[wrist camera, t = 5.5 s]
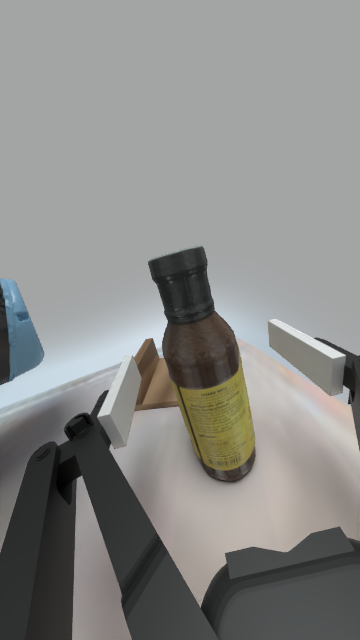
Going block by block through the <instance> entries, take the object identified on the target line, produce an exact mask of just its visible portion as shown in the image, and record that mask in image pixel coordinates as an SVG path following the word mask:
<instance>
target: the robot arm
mask: <svg viewBox="0 0 360 640" xmlns="http://www.w3.org/2000/svg"><path fill="white" fill-rule="evenodd" d="M268 331H269V344H270V347H271V348H272V349H274V350H275V351H276V352H277V353H279V354H280V355H281V356H282V357H283V358H285V359H286V360H287V361H288V362H289V363H291V364H292V365H293V366H294V367H296V368H297V369H298V370H299V371H301V372H302V373H303V374H304V375H305V376H306V377H308V378H309V379H310V380H311V381H313V382H314V383H315V384H316V385H317V386H319V387H320V388H321V389H322V390H324V391H325V392H326V393H327V394H328V395H330V396H333V395H337V394H341V393H343V385H344V386H345V387H347V388H349V389H350V391H349V400H348V404H351V407H352V412H353V418H354V423H355V428H356V434H357V439H358V444H359V450H360V356H356V355H354V354H352V353H350V352H348V351H346V350H344V349H342V348H340V347H337V346H336V345H334V344H332V343H330V342H328V341H326V340H323V339H320V338H312V337H310V336H308V335H306V334H304V333H302V332H300V331H298V330H296V329H294V328H293V327H291V326H289V325H287V324H285V323H283V322H281V321H279V320H277V319H273V320H269V321H268ZM43 358H44V351H43V348H42V346H41V343H40V340H39V338H38V335H37V333H36V331H35V328H34V326H33V323H32V321H31V319H30V316H29V314H28V311H27V308H26V306H25V303H24V301H23V298H22V296H21V293H20V291H19V289H18V286H17V284H16V282H15V281H14V280H11V279H7V280H5V279H0V385H2V384H4V383H6V382H10V381H12V380H13V379H14V378H15V377H17V376H19V375H21V374H23V373H25V372H27V371H29V370H31V369H33V368H35V367H36V366H38V365H39V364H40V363H41V361H42V360H43ZM141 379H142V378H141V375H140V373H139V370H138V368H137V365H136V363H135V360H134V357H133V355H130V356H127V357H125V358H124V360H123V362H122V364H121V366H120V368H119V371H118V373H117V375H116V377H115V379H114V381H113V384H112V386H111V388H110V390H107V391H104V392H103V394H102V395H101V396H100V397H99V399H98V401H97V403H96V405H95V408H94V409H93V411H92V413H91V415H89V414H88V413H81V414H78V415H77V416H75V417H74V418H72V419H71V420H70V421H69V422H68V423H67V424H66V426H65V428H64V432H65V434H66V435H67V437H68V438H69V441H67V442H65V443H63V444H61V445H59V446H58V445H57V444H56V443H55V442H54V441H53V442H49V443H46V444H44V445H43V446H41V447H40V448H39V449H38V450H37V451H36V452H34V454H33V455H32V456H31V457H30V460H29V462H28V464H27V468H26V471H25V474H24V477H23V481H22V484H21V487H20V491H19V494H18V497H17V500H16V504H15V507H14V510H13V513H12V517H11V520H10V523H9V526H8V530H7V533H6V536H5V540H4V543H3V546H2V549H1V553H0V640H72V618H73V584H74V550H75V516H76V482H77V478H78V477H80V476H83V479H84V482H85V485H86V488H87V491H88V494H89V497H90V500H91V503H92V506H93V509H94V512H95V515H96V518H97V521H98V524H99V527H100V530H101V533H102V536H103V539H104V541H105V544H106V547H107V550H108V553H109V556H110V559H111V562H112V565H113V568H114V571H115V574H116V577H117V580H118V583H119V586H120V589H121V593H122V599H121V603H122V608H123V612H124V615H125V619H126V622H127V625H128V628H129V632H130V635H131V638H132V640H360V541H357V540H354V539H350V538H347V537H346V535H345V534H344V532H343V531H342V529H341V528H340V527H336V528H332V529H328V530H323V531H319V532H315V533H311V534H310V535H309V536H307V537H306V538H305V539H304V540H303V541H301V542H300V543H299V544H298V545H297V546H295V547H294V548H293V549H292V550H290V551H289V552H279V551H273V550H268V549H262V548H257V547H250V548H246V549H241V550H237V551H233V552H228V553H225V556H226V561H227V564H226V565H225V566H223V567H222V568H221V569H220V570H219V571H218V573H217V574H216V575H215V577H214V578H213V580H212V581H211V583H210V585H209V587H208V589H207V591H206V594H205V596H204V599H203V602H202V605H201V608H200V606H199V605H198V603H197V601H196V599H195V598H194V596H193V594H192V593H191V591H190V589H189V587H188V586H187V584H186V582H185V580H184V579H183V577H182V575H181V573H180V572H179V570H178V568H177V566H176V565H175V563H174V561H173V560H172V558H171V556H170V554H169V553H168V551H167V549H166V547H165V546H164V544H163V542H162V541H161V539H160V537H159V535H158V534H157V532H156V530H155V529H154V527H153V525H152V523H151V522H150V520H149V518H148V516H147V515H146V513H145V511H144V509H143V508H142V506H141V504H140V502H139V501H138V499H137V497H136V496H135V494H134V492H133V490H132V489H131V487H130V485H129V483H128V482H127V480H126V478H125V476H124V475H123V473H122V471H121V469H120V468H119V466H118V464H117V463H116V461H115V459H114V457H113V456H112V454H111V452H110V450H109V447H110V444H112V445H113V447H114V449H116V448H120V447H124V446H126V444H127V440H128V435H129V431H130V427H131V422H132V418H133V414H134V409H135V405H136V401H137V396H138V392H139V388H140V383H141Z"/></svg>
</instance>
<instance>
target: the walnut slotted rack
mask: <svg viewBox="0 0 360 640" xmlns="http://www.w3.org/2000/svg"><path fill="white" fill-rule="evenodd" d="M134 360H135V363H136V365H137V368H138V370H139V373H140V375H141V378H142V379H141V383H140V388H139V392H138V396H137V401H136V405H135V409H134V411H136V410H145V409H155V408H164V407H174V406H179V404H178V401H177V398H176V395H175V392H174V389H173V386H172V383H171V380H170V377H169V371H168V368H167V365H166V362H165V359H164V358H160V359H159V356H158V353H157V350H156V347H155V344H154V341H153V338H151V339H146V340H145V342H144V343H143V345H142V346H141V348H140V350H139V351H138V353H137V355H136V356H135V358H134Z"/></svg>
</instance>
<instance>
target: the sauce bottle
mask: <svg viewBox="0 0 360 640" xmlns="http://www.w3.org/2000/svg"><path fill="white" fill-rule="evenodd" d="M148 265H149V268H150V272H151V276H152V279H153V281H154V282H155V283H156V284H157V286H158V289H159V293H160V296H161V299H162V302H163V306H164V309H165V311H164V314H165V316H166V318H167V320H168V324H167V327H166V329H165V333H164V338H163V341H162V350H163V356H164V359H165V362H166V365H167V368H168V371H169V377H170V380H171V383H172V386H173V389H174V392H175V395H176V398H177V401H178V404H179V407H180V410H181V413H182V416H183V419H184V422H185V425H186V428H187V431H188V433H189V436H190V439H191V442H192V445H193V448H194V450H195V453H196V454H197V456H198V459H199V461H200V463H201V464H202V466H203V467H204V469H205V470H206V471H207V473H208V474H210V475H211V476H212V477H214V478H217V479H220V480H229V481H234V480H237V479H239V478H241V477H243V475H245V474H246V473H247V472H248V471H249V470H250V469H251V468H252V465H253V462H254V459H255V446H254V444H255V435H254V429H253V423H252V417H251V411H250V406H249V399H248V394H247V388H246V384H245V379H244V374H243V369H242V361H241V357H240V352H239V347H238V344H237V342H236V339H235V335H234V331H233V330H232V329H231V327H230V326H229V325H228V324H227V322H226V321H225V320H224V319H223V318H222V317H220V316H219V315H218V313H217V312H216V311H215V310H214V309H215V308H214V301H213V299H212V296H211V290H210V285H209V282H208V277H207V258H206V255H205V251H204V248H203V247H202V246H195V247H191V248H186V249H182V250H179V251H175V252H172V253H168V254H165V255H161V256H158V257H155V258H151V259H150V260H149V262H148Z"/></svg>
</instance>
